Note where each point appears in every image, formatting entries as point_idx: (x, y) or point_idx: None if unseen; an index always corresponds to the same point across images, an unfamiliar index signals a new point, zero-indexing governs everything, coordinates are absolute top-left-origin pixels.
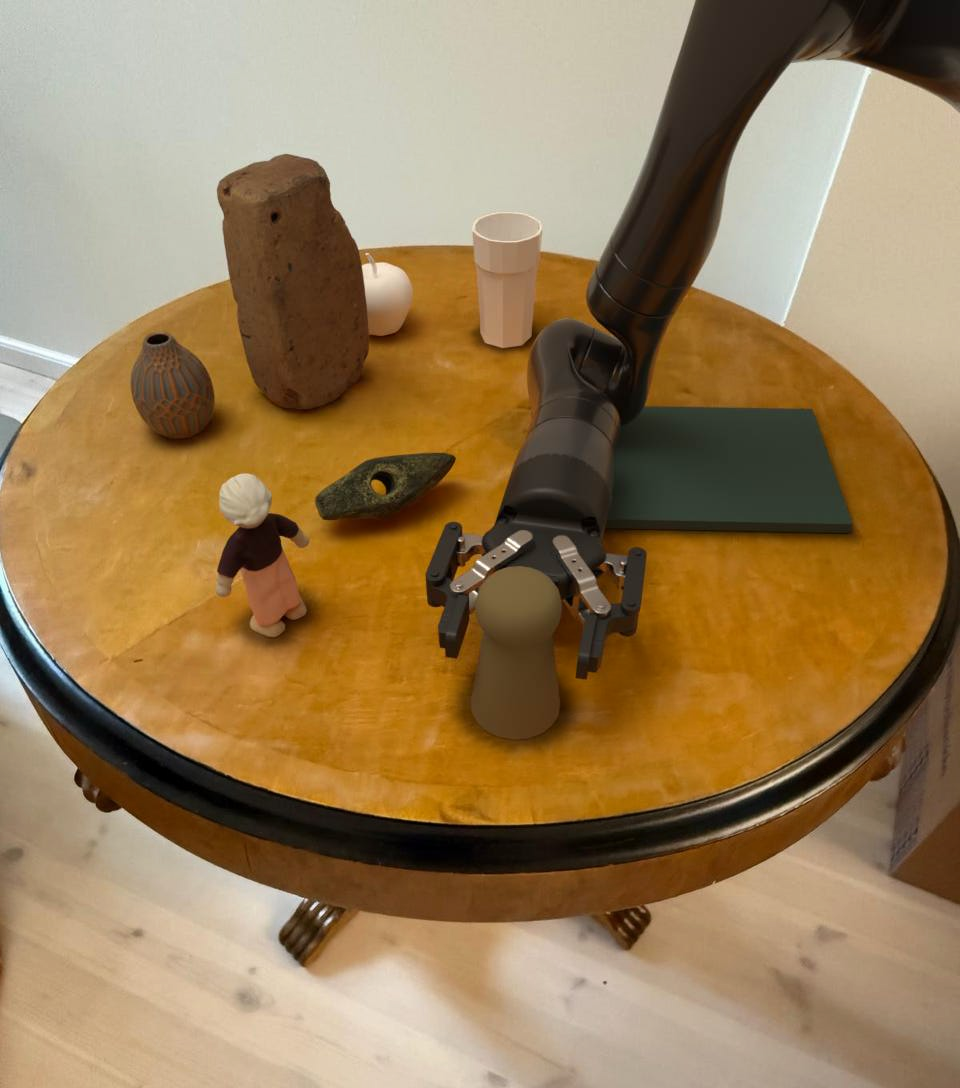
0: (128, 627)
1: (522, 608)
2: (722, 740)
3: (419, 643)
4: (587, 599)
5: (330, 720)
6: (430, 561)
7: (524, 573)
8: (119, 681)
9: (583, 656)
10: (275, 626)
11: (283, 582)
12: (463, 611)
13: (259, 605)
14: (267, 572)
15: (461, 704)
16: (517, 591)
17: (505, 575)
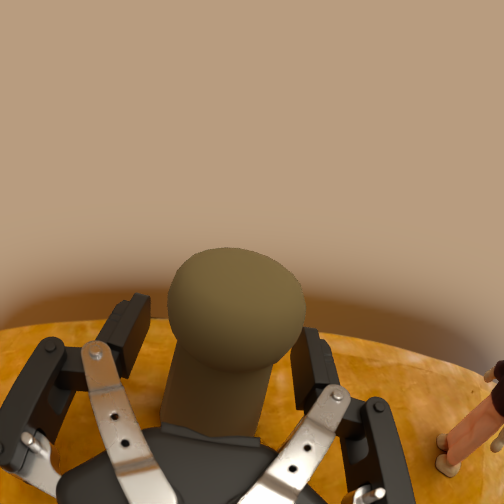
0: None
1: (234, 248)
2: (27, 353)
3: (332, 477)
4: (113, 369)
5: (361, 385)
6: (396, 430)
7: (241, 287)
8: (467, 378)
9: (142, 294)
10: (444, 436)
11: (472, 430)
12: (310, 357)
13: (466, 416)
14: (487, 402)
15: (264, 414)
16: (246, 261)
17: (274, 286)
